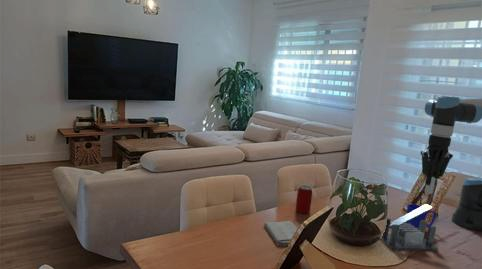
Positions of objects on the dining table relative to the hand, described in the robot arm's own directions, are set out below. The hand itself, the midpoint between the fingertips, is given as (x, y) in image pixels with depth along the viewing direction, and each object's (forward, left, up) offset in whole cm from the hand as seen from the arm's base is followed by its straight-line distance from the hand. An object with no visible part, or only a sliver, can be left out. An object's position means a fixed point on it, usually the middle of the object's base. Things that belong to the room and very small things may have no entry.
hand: (428, 192), depth 142 cm
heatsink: (+7, +1, -22) cm, 22 cm away
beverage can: (+41, -29, -22) cm, 55 cm away
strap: (+7, +1, -11) cm, 13 cm away
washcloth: (+57, -5, -22) cm, 61 cm away
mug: (-8, -12, -22) cm, 26 cm away
